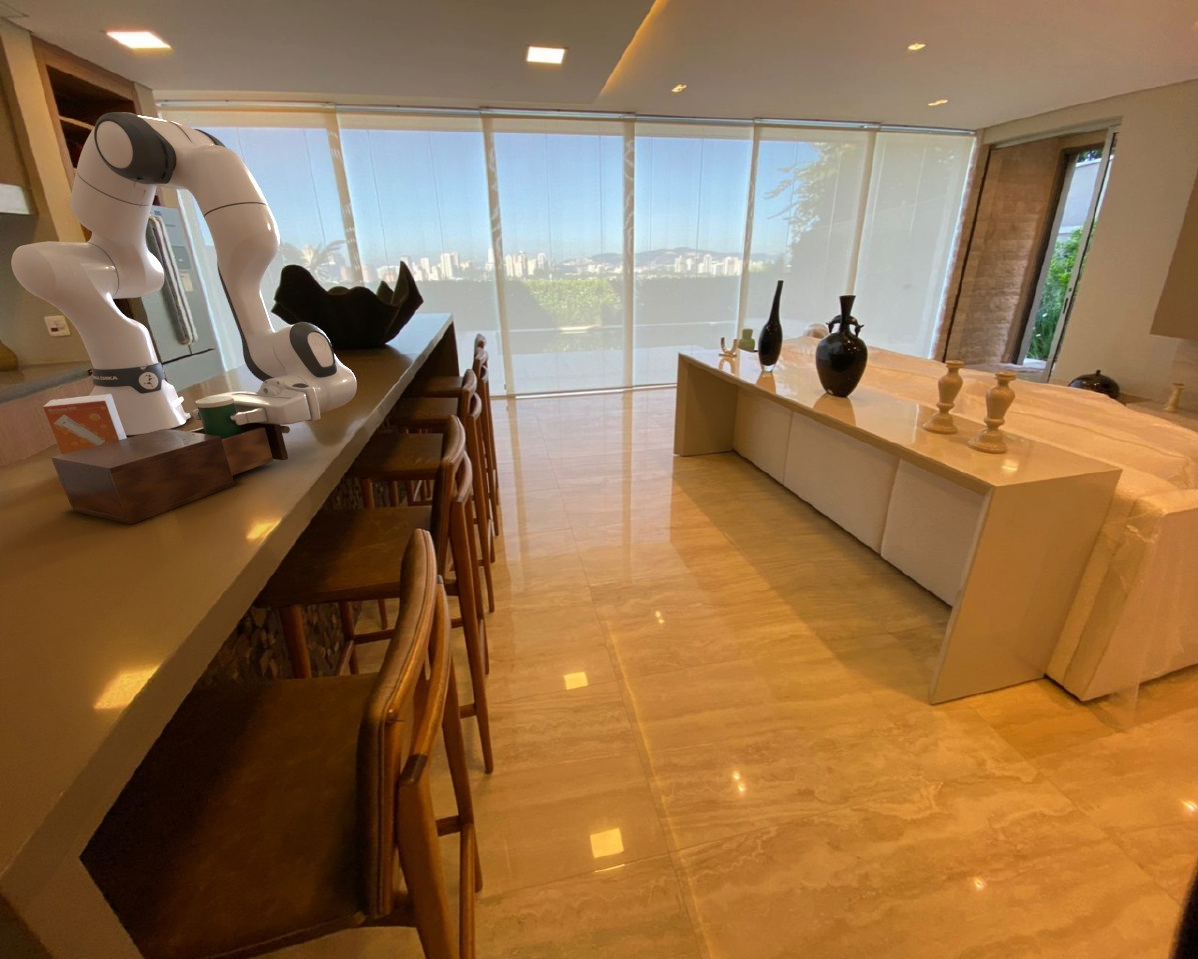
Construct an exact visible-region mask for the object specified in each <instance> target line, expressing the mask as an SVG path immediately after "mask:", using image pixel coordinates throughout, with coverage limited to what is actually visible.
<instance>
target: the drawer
mask: <svg viewBox="0 0 1198 959" xmlns="http://www.w3.org/2000/svg"><path fill="white" fill-rule="evenodd" d="M240 427H241V431H242V433H241V434H238V435H234V436H231V437H228V438H224V439H222V442H223V446H224V449H225V453H226V456H227V460H228V463H229V467H230V470H231V474H232V477H233V476H236V475H240V474H241V473H244V472H247V471H249V470H252V469H255V468H258V467H261V466H263V465H266V464H269V463H271V462H273V461H274V460H278V461H286V460H289V456H288V452H287V448H286V443H285V439H284V435H283V434H289V433H290V432H291V429H290V427H289V426H288V425H278V424H270V423H262V422H255V423H246V424H243V425H240ZM186 432H194V433H201V434H205V430H204V427H203V426H202V427H199V428H196V429H192V430H188V431H186Z"/></svg>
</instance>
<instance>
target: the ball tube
mask: <svg viewBox="0 0 1198 959" xmlns="http://www.w3.org/2000/svg"><path fill="white" fill-rule="evenodd" d="M194 403H195V406H196V407H197V409H198V410H199V414H200V417H201V420H200V421H201V423H202V427H204V430H205V434H208V435H215V436H221V439H224V438H228V437H231V436H234V435H238V434H241V433H242V431H241V427H240V425H236V424H233V423H232V420H231V418H230V416H231V415H232V414H235V413H237V412H236V409H235V405H234V399H233V397H231V396H216V397H209V398H205V397H203V398H201V399H197V400H195V401H194Z"/></svg>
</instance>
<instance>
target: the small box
mask: <svg viewBox="0 0 1198 959" xmlns="http://www.w3.org/2000/svg"><path fill="white" fill-rule="evenodd" d="M42 408H43V411H44V413H45V417H46V419H47V421H48V424H49V427H50V429H51V432H52V434H53V436H54V439H55V442H56V444H57V447H58V449H59V453H60V455H62V454H66V453H70V452H74V451H78V450H82V449H86V448H90V447H94V446H98V445H102V444H106V443H110V442H114V441H118V440H122V439H126V438H127V435H125V432H124V429H123V427H122V424H121V421H120V418H119V415H118V412H117V409H116V407H115V404H114V401H113V398H112V395H111V394H105V395H96V396H89V395H83V396H76V397H67V398H66V397H65V398H57V399H56V398H55V399H51V400H49V401H48V402H46V404H45V403H44V405H43V406H42Z"/></svg>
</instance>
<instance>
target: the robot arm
mask: <svg viewBox="0 0 1198 959" xmlns="http://www.w3.org/2000/svg"><path fill="white" fill-rule="evenodd" d="M79 155H80V156H79V158H78V162H77V167H76V170H75V174H74V180H73V183H72V184H73V185H72V188H71V194H70V199H69V208H70V211H71V213H72V215H73V216H74V218H75V219H76V220H77V222H78V223H80V224H81V225H82V226H83V227H84V228H86V230H88V231H90V232H91V236H90V239H89V240H88V241H86V242H85V241H84V242H80V241H76V242H75V241H52V240H49V241H48V240H47V241H40V242H34V243H29V244H24V245H23V244H22V245H20V246H18V247H17V248H16V249H15V250H14V251H13V253H12V256H11V262H10V263H11V270H12V273H13V274H14V277H15V279H16V280H17V281H18V283H19V284H20V285H21V287H23V288H24V289H25V290H26V291H27V292H29V293H30V294H32V295H33V296H35V297H37V298H39V299H41V300H43V301H45V302H46V303H49V304H50V305H52V306H53V307H54V308H56V309H57V310H58V311H59V312H61V313H62V314H63V315H64V316H65V318H67V320H68V321H69V322H70V323H71V324H72V325H73V327H74V328H75V329H76V331H77V332H78V334H79V336H80V338H81V341H82V343H83V345H84V348H85V350H86V352H87V354H88V357H89V359H90V362H91V365H92V367H93V368H92V369H91V370H89V373H91V374H90V376H91V378H92V385H94V388H93V389H92V390H91V392H90V393H89V394H88V396H96V395H105V394H111V395H112V398H113V401H114V404H115V407H116V409H117V412H118V415H119V418H120V421H121V424H122V427H123V429H124V432H125V435H126V436H137V435H141V434H145V433H149V432H153V431H157V430H161V429H175V428H177V427H180V426H182V425H184V424H185V423H187V420H188V419H191V418H192V416H193V419H194V420H196V421H202V420H201V417H200V414H199V410H198V408H195V409H193V410H192V412H191V414H192V415H191V414H190V412H185V410H184V408H183V406H182V402H183V401H184V397H183V396H180V397H179V396H178V394H177V391H176V388H175V386H174V385H172V384H171V383H169V382H167V381H166V378H167V377H166V374H165V368H164V367H163V365H162V363H161V362H160V361H159V360H158V357H157V354H156V351H155V348H154V344H153V341H152V338H151V335H150V332H149V330H148V329H147V327H146V326H145V325H144V324H142V323H141V322H139V321H137V320H135V319H132V318H130V317H127V316H126V315H125V314H123V313H122V311H121V310H120V309H119V308H118V306H117V305H116V304H115V301H114V300H115V299H133V298H134V299H136V298H140V297H145V296H148V295H152V294H155V293H158V292H160V290H161V289H163V286H164V284H165V271H164V268H163V266H162V264H161V262H160V261H159V259H158V258H157V257H156V256H155V255H154V254H153V253H152V252H150V250H149V248H148V245H147V242H146V240H147V239H146V233H147V227H148V223H149V219H150V214H151V212H152V211H151V210H152V207H153V203H154V200H155V195H156V191H157V187H159V188H164V189H171V190H178V191H179V190H186V191H188V192H189V193H190V194H191V195H192V196H193V198H194V200H195V201H196V204H197V206H198V208H199V210H200V213H201V215H202V217H203V218H204V221H205V223H206V225H207V228H208V230H209V233H210V236H211V238H212V242H213V246H214V249H215V254H216V266H217V273H218V277H219V280H220V283H221V286H222V289H223V292H224V295H225V298H226V300H227V303H228V305H229V307H230V308H229V309H230V311H231V314H232V317H233V319H234V322H235V325H236V328H237V330H238V333H239V336H240V340H241V346H242V356H243V360H244V363H245V365H246V367H247V369H248V370H249V371H250V373H251V374H252V375H253V376H254V377H255V378H256V379H258V380H259V381H261V382H262V383H261V385H260V388H259V389H258V390H257V391H250V390H234V391H228V392H223V393H217V394H211V395H207V396H205V397H204V398H209V397H216V396H231V397H233V399H234V405H235V409H236V412H237V413H235V414H232V415H231V416H230V418H231V420H232V423H233V424H236V425H243V424H246V423H255V422H262V423H270V424H278V425H281V426H288V425H293V424H297V423H302V422H315V421H319V420H320V419H321V414H324V413H328V412H330V411H334V410H335V409H338V408H341V407H343V406H345V405H347V404H348V403H349V402H351V401H352V400H353V398H354V397H355V395H356V394H357V388H358V384H357V383H358V382H357V379H356V377H355V376H356V375H355V374H354V372H352V370H351V369H350V368H348V367H347V366H345V365H344V364H343V363H342V362H341V361H340V360H339V359H338V357H337V356H336V354H335V352H334V348H333V345H332V342H331V341H330V338H329V337H328V336H327V334H326V333H325V332H324V331H323V330H322V329H321V328H319V327H318V326H316V325H315V324H313V323H311V322H306V321H299V322H296V323H294V324H291V325H287V326H285V327H282V328H281V329H278V330H276V331H275V330H274V328H273V325H272V322H271V320H270V317H269V313H268V311H267V308H266V305H265V302H264V299H263V295H262V289H261V285H262V280H263V277H264V274H265V273H266V270H267V269H268V268H269V266H270V264H271V263H272V261H273V260H274V258H275V257H276V256H277V254H278V251H279V248H280V245H281V238H280V233H279V232H280V231H279V228H278V225H277V222H276V219H275V217H274V215H273V213H272V211H271V209H270V206H269V204H268V202H267V200H266V197H265V196H264V194H263V192H262V190H261V188H260V187H259V185H258V183H257V181H256V179H255V177H254V176H253V174H252V173H251V171H250V170H249V168H248V166H247V165H246V164H245V162H244V160H243V159H242V158H241V156H239V154H238V153H236V152H235V150H232V149H230V148H228V147H227V146H226V145H225V144H224V143H223V142H222V141H220V140H219V139H218V138H217V137H215V136H213V135H212V134H210V133H208V132H207V131H204V130H201V129H199V128H192V127H190V126H187V125H184V124H181V123H178V122H175V121H171V120H168V119H160V118H155V117H149V116H142V115H137V114H135V113H132V112H125V111H124V112H123V111H122V112H121V111H114V112H107V113H104V114H102V115H101V116H100V117H98V119H97V120H96V122H95V125H94V126H93V128H92V130H91V131H90V133H89V135H88V137H87V138H86V140H85V142H84V145H83V147H82V149H81V152H80V154H79Z"/></svg>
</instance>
